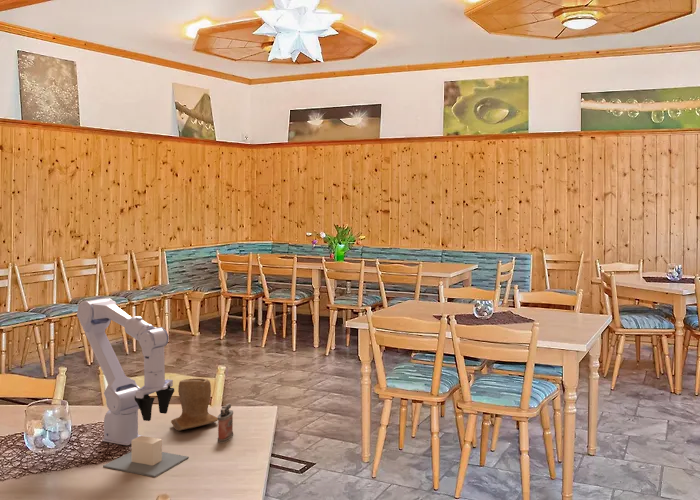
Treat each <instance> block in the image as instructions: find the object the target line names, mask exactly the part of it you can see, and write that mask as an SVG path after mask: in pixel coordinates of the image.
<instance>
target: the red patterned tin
mask: <svg viewBox="0 0 700 500" xmlns="http://www.w3.org/2000/svg"><path fill="white" fill-rule="evenodd" d="M231 408H232V404H231V403H227V404H225V405H222V406H221V409H220V413H219V414H218V415H217V418H218V421H217V422H218V423H217V425H218V426H217V431H218V432H217V433H218V434H217V442H218V443H227V442H228V441H230V440H231V439H232V438H233V437H234V431H233V422H234V419H233V418H234V417H233V415H234V410H231Z"/></svg>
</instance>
